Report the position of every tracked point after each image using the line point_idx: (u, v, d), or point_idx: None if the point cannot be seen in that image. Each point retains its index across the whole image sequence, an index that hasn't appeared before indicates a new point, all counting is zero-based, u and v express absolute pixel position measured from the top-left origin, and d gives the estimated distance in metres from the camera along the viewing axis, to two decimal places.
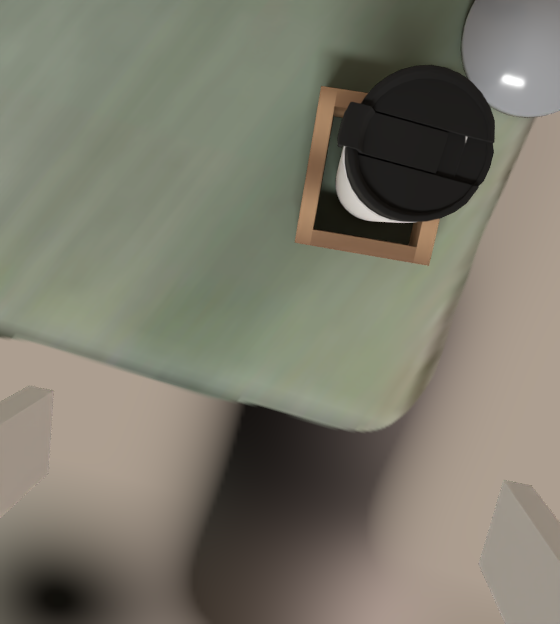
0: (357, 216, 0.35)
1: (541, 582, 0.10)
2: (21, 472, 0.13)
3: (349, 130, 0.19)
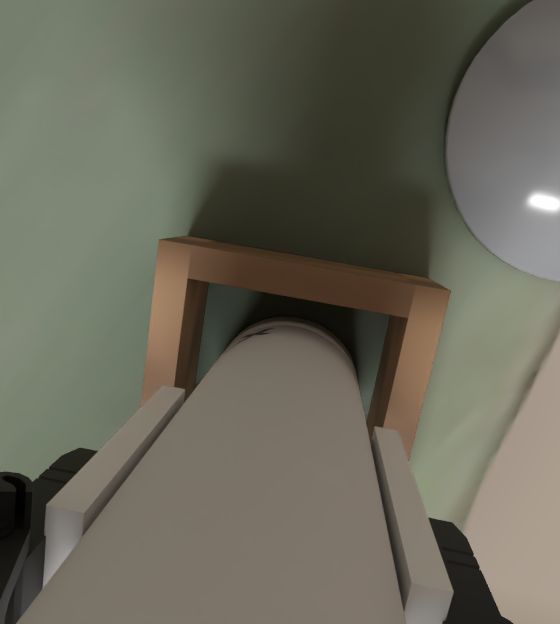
0: None
1: None
2: None
3: None
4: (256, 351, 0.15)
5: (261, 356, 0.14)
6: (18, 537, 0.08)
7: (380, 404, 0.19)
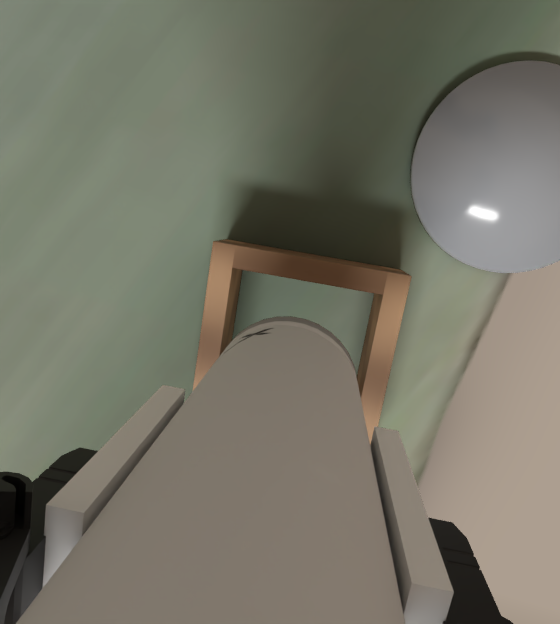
0: None
1: None
2: None
3: None
4: (256, 351, 0.15)
5: (261, 356, 0.14)
6: (18, 537, 0.08)
7: (365, 358, 0.26)
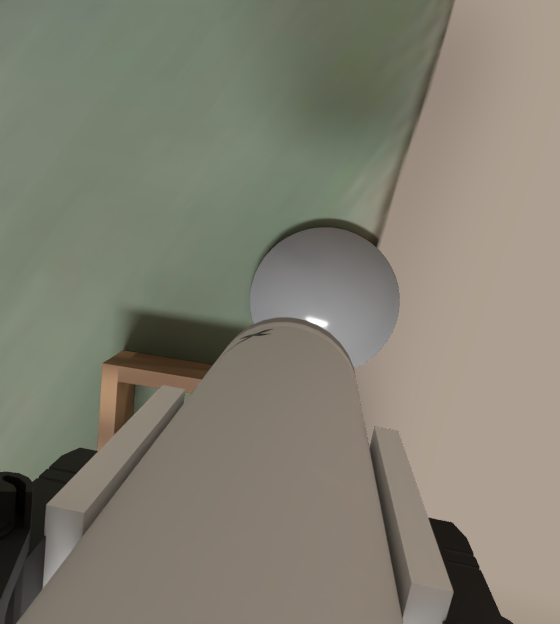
0: None
1: None
2: None
3: None
4: (255, 352, 0.15)
5: (260, 357, 0.14)
6: (18, 537, 0.08)
7: None
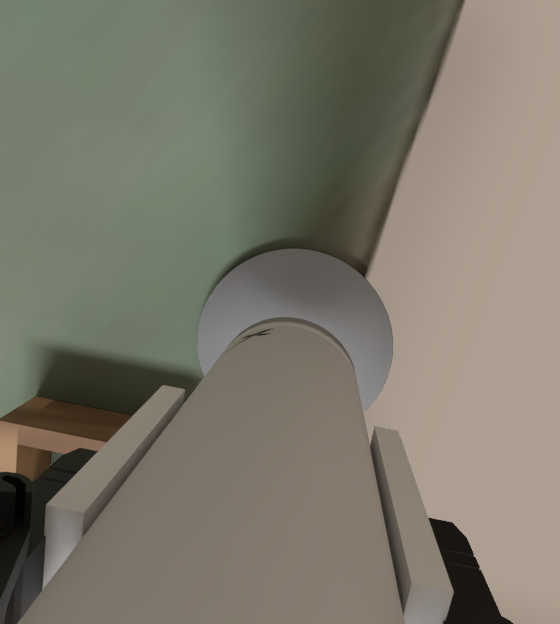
0: None
1: None
2: None
3: None
4: (256, 352, 0.15)
5: (261, 357, 0.14)
6: (18, 537, 0.08)
7: None
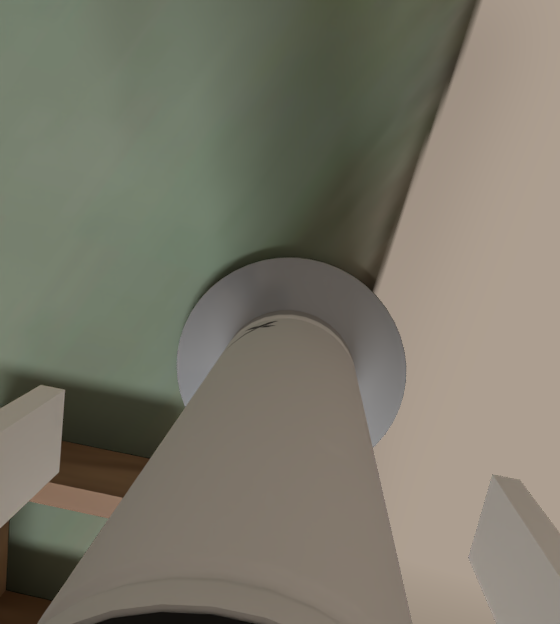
0: None
1: (527, 573, 0.10)
2: (33, 470, 0.13)
3: None
4: (262, 342, 0.16)
5: (267, 347, 0.16)
6: None
7: None
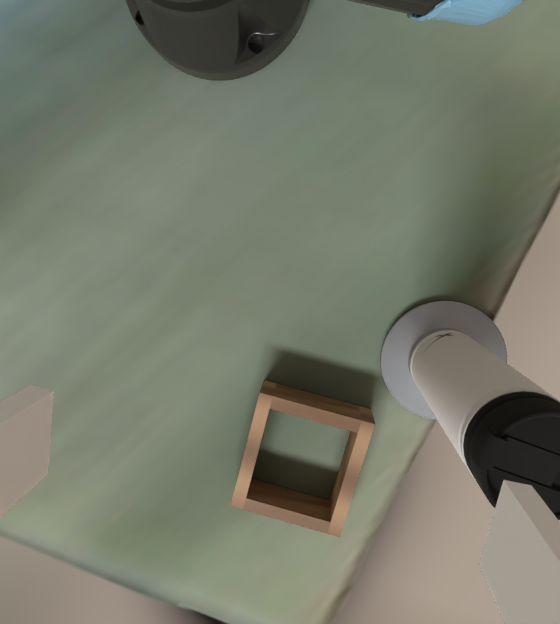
0: None
1: (541, 583, 0.10)
2: (21, 472, 0.13)
3: (487, 457, 0.22)
4: (460, 342, 0.36)
5: (466, 344, 0.35)
6: None
7: (345, 464, 0.43)
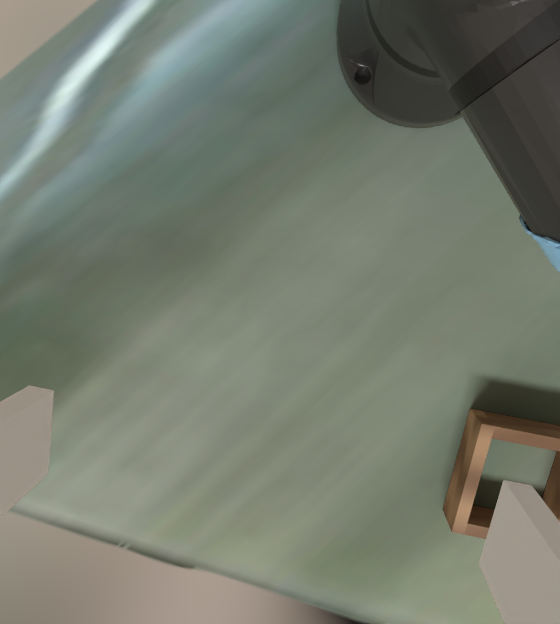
0: None
1: (541, 582, 0.10)
2: (21, 472, 0.13)
3: None
4: None
5: None
6: None
7: None
